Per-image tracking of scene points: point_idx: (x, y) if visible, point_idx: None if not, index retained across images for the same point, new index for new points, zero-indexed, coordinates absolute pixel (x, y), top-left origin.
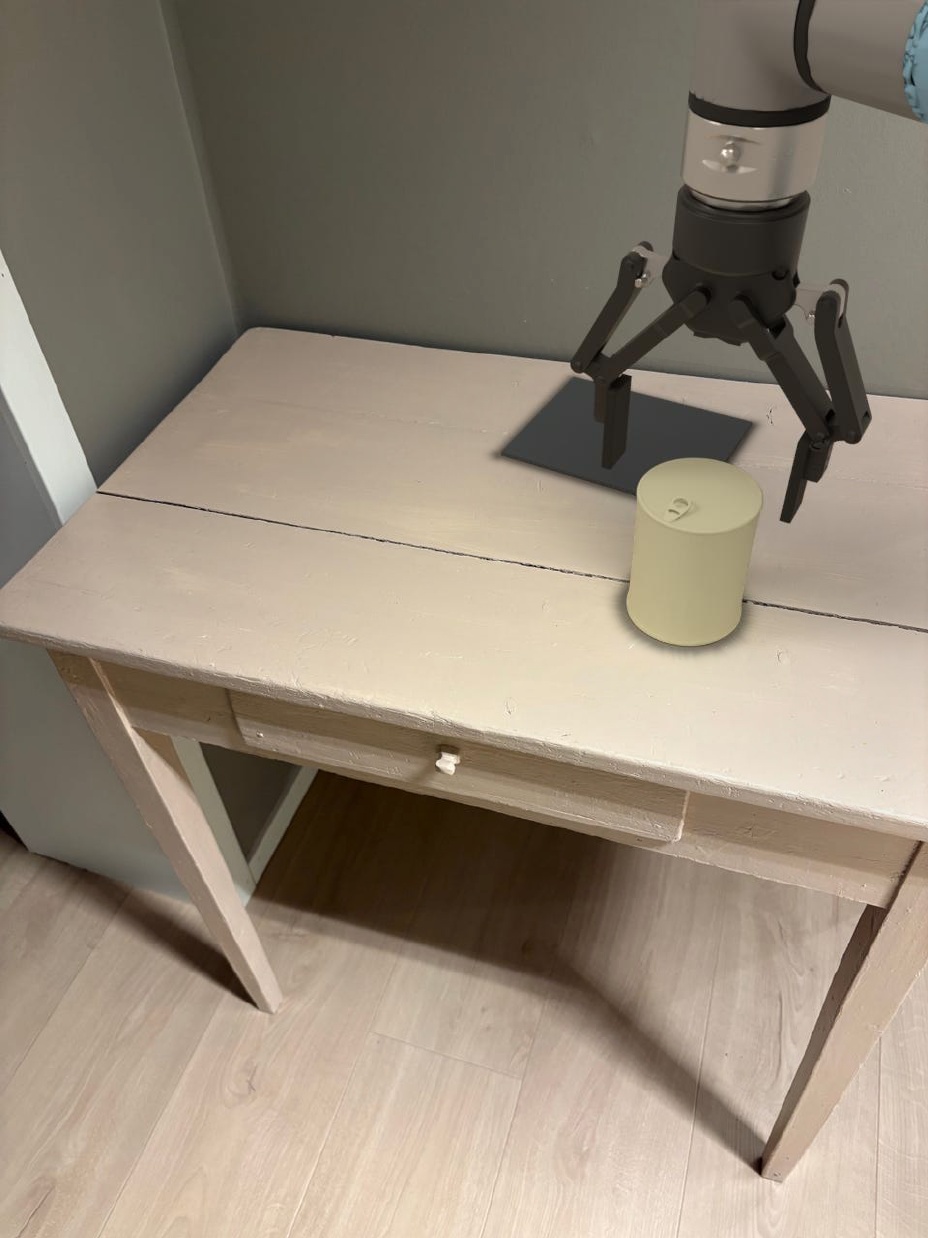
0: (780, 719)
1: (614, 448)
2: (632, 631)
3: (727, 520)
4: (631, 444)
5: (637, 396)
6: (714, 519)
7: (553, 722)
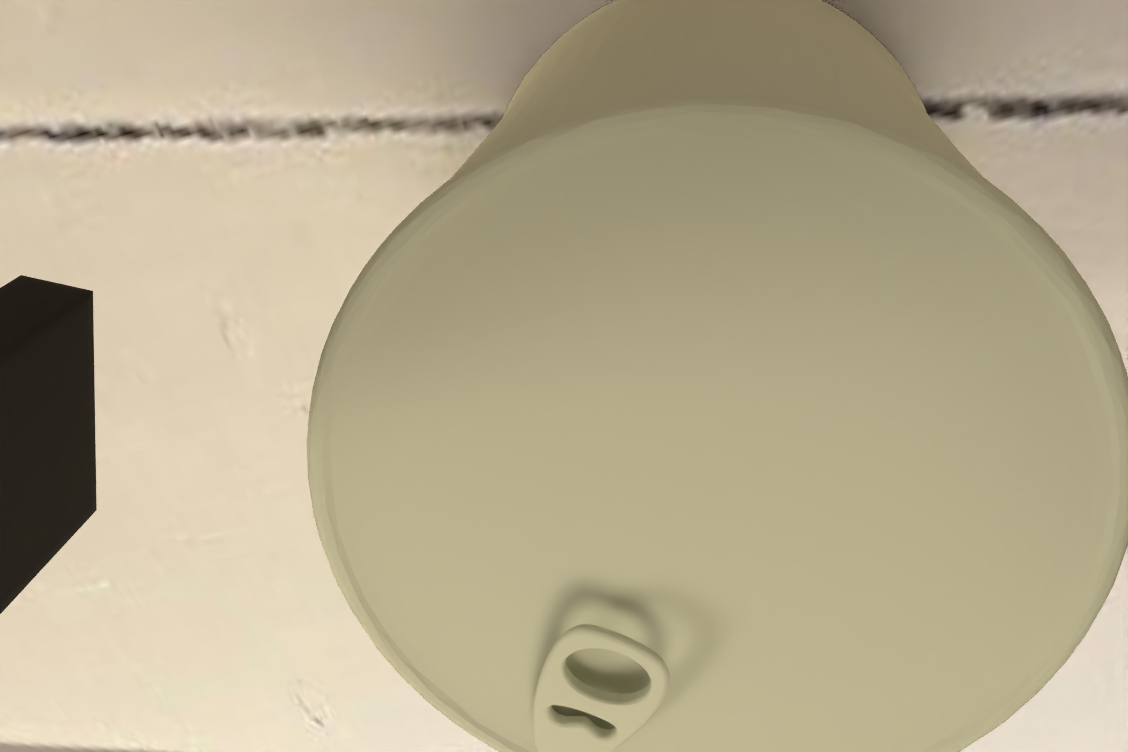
0: None
1: (11, 564)
2: None
3: (896, 708)
4: None
5: None
6: (819, 707)
7: (437, 730)
